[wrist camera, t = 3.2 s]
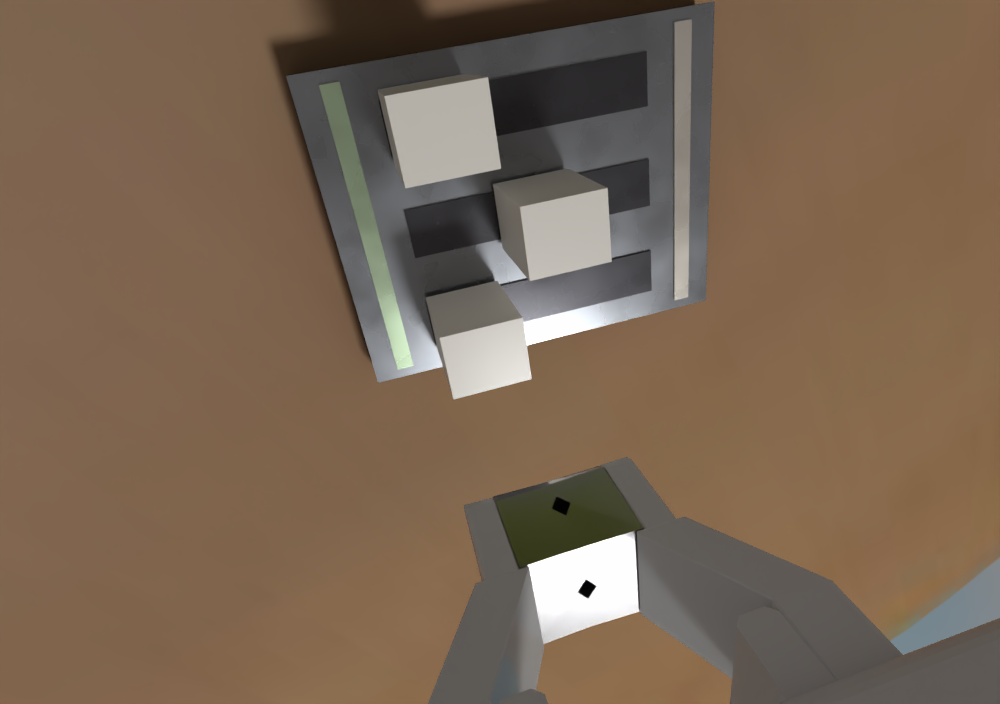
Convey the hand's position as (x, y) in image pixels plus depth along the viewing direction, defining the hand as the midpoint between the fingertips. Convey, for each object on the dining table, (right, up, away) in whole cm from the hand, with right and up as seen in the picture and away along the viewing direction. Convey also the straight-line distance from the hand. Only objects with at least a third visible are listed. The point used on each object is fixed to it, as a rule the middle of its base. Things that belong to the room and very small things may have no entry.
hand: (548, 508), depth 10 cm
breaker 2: (-2, +4, +18) cm, 18 cm away
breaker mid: (+1, +9, +16) cm, 19 cm away
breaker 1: (-4, +12, +13) cm, 19 cm away
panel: (0, +10, +18) cm, 20 cm away
